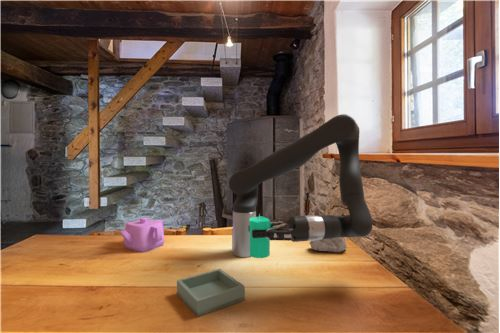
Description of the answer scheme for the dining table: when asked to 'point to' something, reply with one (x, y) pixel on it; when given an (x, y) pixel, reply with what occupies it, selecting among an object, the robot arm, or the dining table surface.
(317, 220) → the robot arm
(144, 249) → the teakettle
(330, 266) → the dining table surface
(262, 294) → the dining table surface
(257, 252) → the candle
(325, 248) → the pumice stone
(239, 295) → the tray
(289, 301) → the dining table surface
